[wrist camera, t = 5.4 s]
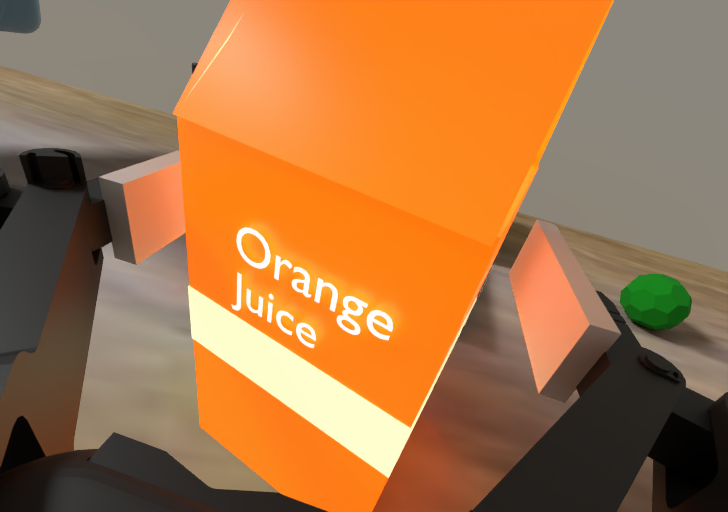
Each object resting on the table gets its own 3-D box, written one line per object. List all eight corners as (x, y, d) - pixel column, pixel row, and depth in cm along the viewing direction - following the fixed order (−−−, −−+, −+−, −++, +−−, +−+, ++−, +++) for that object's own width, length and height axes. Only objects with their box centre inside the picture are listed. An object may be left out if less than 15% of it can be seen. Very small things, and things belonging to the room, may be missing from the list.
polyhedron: (610, 320, 32) (642, 279, 30) (609, 296, 36) (637, 258, 33) (672, 349, 30) (712, 307, 28) (664, 320, 34) (699, 281, 32)
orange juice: (299, 336, 23) (359, -66, 12) (422, 413, 20) (637, -30, 9) (195, 429, 17) (138, -222, 6) (351, 559, 14) (746, -256, 3)
